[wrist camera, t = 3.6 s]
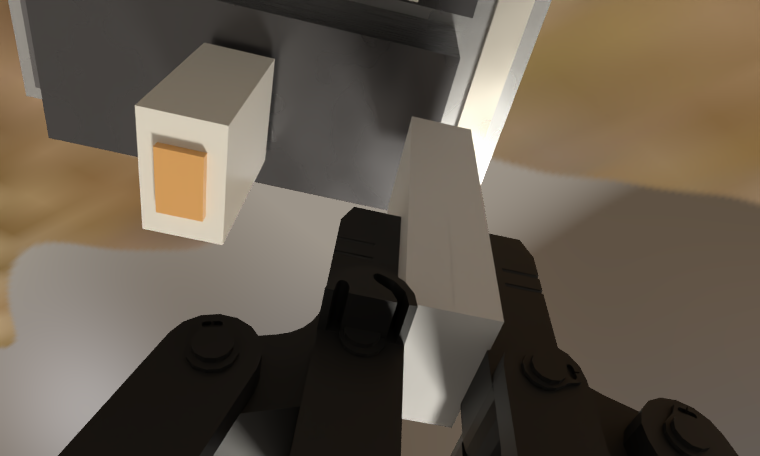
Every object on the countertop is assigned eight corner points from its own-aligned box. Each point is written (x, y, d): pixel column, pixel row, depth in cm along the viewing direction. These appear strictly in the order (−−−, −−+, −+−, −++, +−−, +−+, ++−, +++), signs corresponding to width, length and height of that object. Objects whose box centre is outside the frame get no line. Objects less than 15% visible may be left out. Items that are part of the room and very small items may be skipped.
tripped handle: (204, 42, 13) (130, 109, 10) (275, 59, 14) (225, 130, 10) (202, 146, 15) (138, 233, 12) (264, 160, 15) (220, 250, 12)
